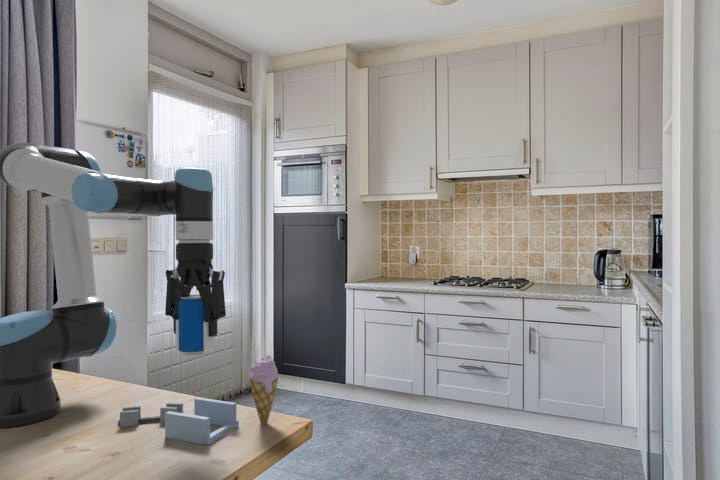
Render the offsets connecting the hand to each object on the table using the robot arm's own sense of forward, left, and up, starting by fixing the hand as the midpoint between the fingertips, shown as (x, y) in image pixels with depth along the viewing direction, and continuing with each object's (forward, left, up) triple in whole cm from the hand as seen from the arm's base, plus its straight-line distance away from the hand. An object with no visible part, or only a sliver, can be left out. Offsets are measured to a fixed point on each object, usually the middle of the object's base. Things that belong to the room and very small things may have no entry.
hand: (195, 350), depth 104 cm
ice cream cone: (+12, +9, -18) cm, 23 cm away
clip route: (-12, +1, -17) cm, 21 cm away
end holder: (+1, +1, -17) cm, 17 cm away
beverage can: (0, 0, -1) cm, 1 cm away
